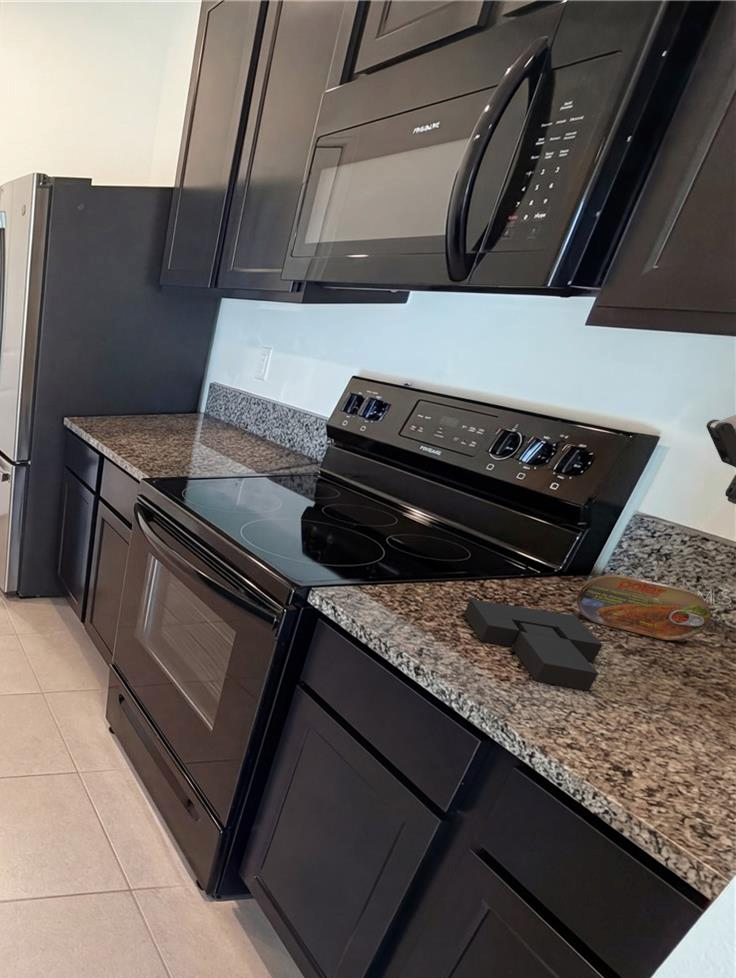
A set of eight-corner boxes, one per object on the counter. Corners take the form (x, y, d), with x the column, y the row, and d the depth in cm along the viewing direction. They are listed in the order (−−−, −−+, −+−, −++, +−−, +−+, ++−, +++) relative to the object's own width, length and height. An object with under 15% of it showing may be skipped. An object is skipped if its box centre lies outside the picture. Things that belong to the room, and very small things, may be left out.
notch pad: (566, 631, 106) (575, 615, 104) (593, 661, 98) (603, 644, 96) (463, 614, 111) (470, 598, 109) (480, 641, 102) (488, 624, 101)
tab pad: (551, 645, 102) (559, 629, 100) (588, 691, 90) (598, 673, 89) (504, 637, 104) (512, 621, 102) (535, 681, 93) (544, 663, 91)
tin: (566, 615, 111) (590, 570, 107) (568, 609, 113) (591, 565, 109) (693, 648, 102) (723, 601, 98) (692, 641, 104) (722, 594, 100)
